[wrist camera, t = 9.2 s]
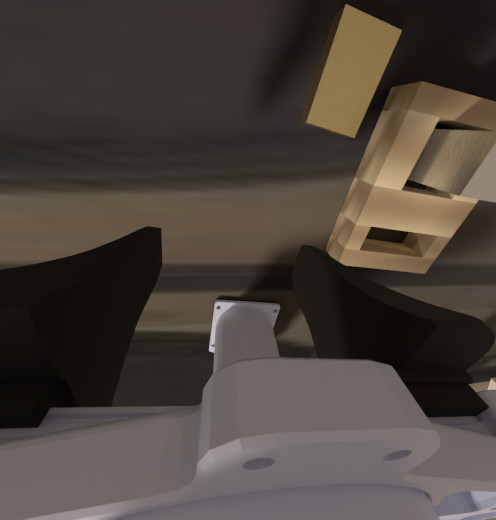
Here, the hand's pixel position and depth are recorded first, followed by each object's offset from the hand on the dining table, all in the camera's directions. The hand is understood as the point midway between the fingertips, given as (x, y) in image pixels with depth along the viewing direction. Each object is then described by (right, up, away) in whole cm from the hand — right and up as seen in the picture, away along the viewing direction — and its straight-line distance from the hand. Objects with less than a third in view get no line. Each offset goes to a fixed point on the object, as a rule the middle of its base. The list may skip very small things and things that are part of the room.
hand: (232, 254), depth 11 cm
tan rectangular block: (+7, +13, +5) cm, 16 cm away
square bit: (+16, +9, +8) cm, 20 cm away
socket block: (+15, +6, +9) cm, 19 cm away
